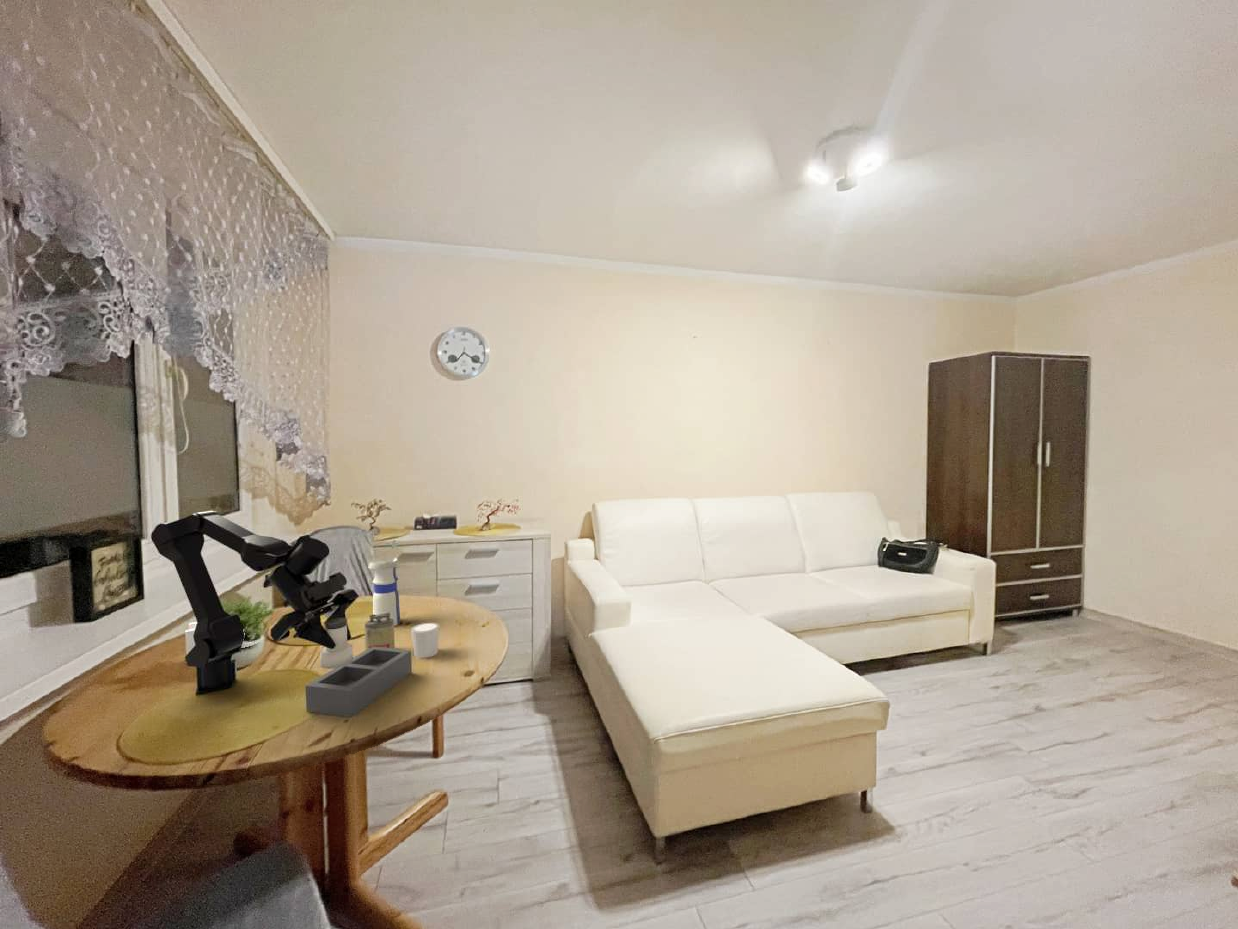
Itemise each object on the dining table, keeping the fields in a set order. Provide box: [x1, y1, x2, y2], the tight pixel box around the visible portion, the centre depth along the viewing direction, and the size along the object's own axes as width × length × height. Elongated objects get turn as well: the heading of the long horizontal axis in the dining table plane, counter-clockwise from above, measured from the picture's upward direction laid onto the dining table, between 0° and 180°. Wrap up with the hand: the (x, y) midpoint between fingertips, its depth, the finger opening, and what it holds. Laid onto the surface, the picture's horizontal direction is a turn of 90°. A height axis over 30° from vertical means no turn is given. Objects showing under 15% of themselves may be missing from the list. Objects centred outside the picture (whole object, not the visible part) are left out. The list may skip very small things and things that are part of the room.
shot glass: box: [410, 622, 440, 659], centre depth 130 cm, size 7×7×7 cm
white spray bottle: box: [367, 539, 401, 627], centre depth 151 cm, size 8×9×25 cm
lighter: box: [364, 612, 396, 651], centre depth 132 cm, size 7×4×10 cm, turn 112°
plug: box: [319, 617, 354, 670], centre depth 107 cm, size 6×6×9 cm
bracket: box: [184, 621, 197, 656], centre depth 134 cm, size 13×7×8 cm, turn 124°
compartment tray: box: [305, 647, 413, 718], centre depth 111 cm, size 20×11×6 cm, turn 167°
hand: (342, 643), depth 106 cm, fingers closed on plug, 4 cm apart
